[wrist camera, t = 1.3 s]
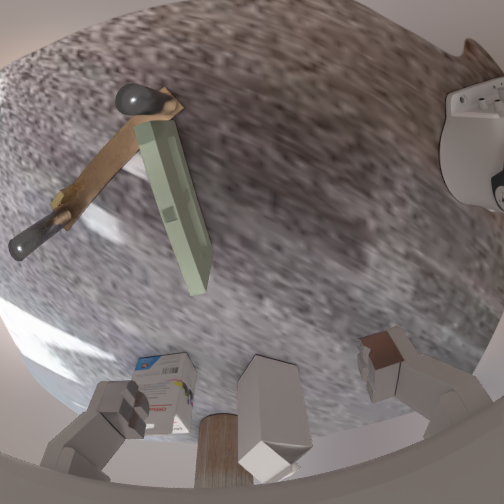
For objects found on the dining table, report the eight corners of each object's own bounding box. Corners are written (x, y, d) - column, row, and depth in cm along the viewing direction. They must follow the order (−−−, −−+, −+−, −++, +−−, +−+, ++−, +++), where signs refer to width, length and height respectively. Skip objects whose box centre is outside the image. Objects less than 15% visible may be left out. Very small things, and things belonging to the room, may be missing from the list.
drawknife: (166, 87, 27) (130, 73, 17) (184, 107, 28) (156, 101, 18) (54, 211, 32) (3, 246, 22) (69, 229, 33) (21, 268, 23)
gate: (161, 124, 27) (133, 126, 20) (174, 120, 27) (149, 120, 19) (201, 254, 34) (190, 295, 26) (213, 251, 33) (205, 292, 26)
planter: (199, 435, 52) (192, 531, 32) (200, 410, 48) (191, 522, 28) (247, 439, 53) (250, 534, 33) (254, 414, 49) (260, 525, 29)
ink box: (151, 378, 44) (132, 451, 31) (138, 357, 42) (113, 433, 29) (198, 372, 44) (188, 452, 30) (186, 351, 42) (172, 434, 28)
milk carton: (237, 381, 45) (237, 487, 28) (255, 353, 42) (263, 469, 25) (276, 391, 46) (288, 491, 29) (297, 364, 44) (318, 473, 26)
